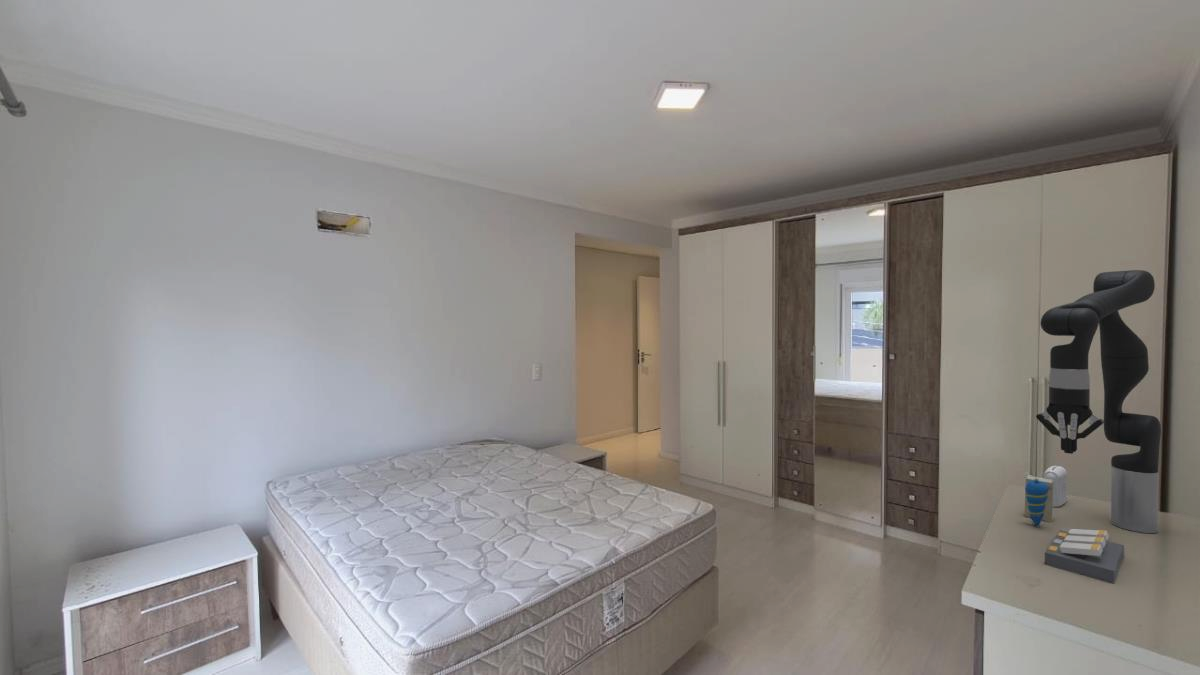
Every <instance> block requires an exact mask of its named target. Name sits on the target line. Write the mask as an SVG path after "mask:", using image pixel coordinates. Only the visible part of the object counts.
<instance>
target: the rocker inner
mask: <svg viewBox="0 0 1200 675" xmlns="http://www.w3.org/2000/svg"><path fill="white" fill-rule="evenodd" d="M1068 532H1069V533H1068V534H1069V535H1070V536H1086V537H1103V538H1104V539H1105V541H1108V539H1109V538H1110V535H1109V533H1108V530H1105V529H1099V530H1098V529H1097V530H1096V529H1083V528H1082V529H1081V528H1079V529H1077V528H1070V529H1069V531H1068Z"/></svg>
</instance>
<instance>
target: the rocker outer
mask: <svg viewBox="0 0 1200 675" xmlns="http://www.w3.org/2000/svg"><path fill="white" fill-rule="evenodd" d="M1060 550H1061V553H1070V554H1082V555H1095V556H1101V554H1102V551H1103V550H1102V547H1101V545H1099V544H1082V543H1068V542H1062V544H1061V545H1060Z"/></svg>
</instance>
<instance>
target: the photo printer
mask: <svg viewBox="0 0 1200 675" xmlns="http://www.w3.org/2000/svg"><path fill="white" fill-rule="evenodd" d="M1043 478H1045V479H1051V480H1053V508H1059V507H1062V506H1063V505H1064V504H1066V503H1067V501H1068V473H1067V470H1066V468H1064V466H1061V465H1060V466H1059V465H1052V466H1049V467H1048V468H1047V469H1046V470H1045V471H1044V474H1043ZM1066 496H1067V497H1066Z"/></svg>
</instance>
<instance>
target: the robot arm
mask: <svg viewBox="0 0 1200 675" xmlns="http://www.w3.org/2000/svg"><path fill="white" fill-rule="evenodd" d="M1155 284H1156V283H1155V278H1154V276H1153V275H1152V273H1150V272H1149V271H1147V270H1142V269H1130V270H1119V271H1117V270H1116V271H1105V272H1104V271H1103V272H1100V273H1098V274H1097V275H1096V276H1095V278H1094V280H1093V285H1092V286H1093V290H1092V291H1093V292H1091V293H1088V294H1086V295H1084V296H1081V297H1080V298H1078V299H1077V300H1074V301H1073V302H1069V303H1066V304H1061V305H1058V306H1055V307H1052V308H1050V309H1048V310H1046V312H1044V314H1043V315H1042V317H1041V318H1040V327H1041V329H1042V331H1043V332H1044V333H1046V334H1048V335H1051V336H1054V337H1055V336H1056V337H1057V336H1059V337H1060V336H1061V337H1064V336H1065V337H1066V336H1067V337H1074V338H1073V340H1072V341H1071V342H1070V343H1067V344H1058V345H1055V346H1053V347H1051V349H1050V356H1049V358H1050V360H1049V363H1050V364H1049V365H1050V366H1049V367H1050V368H1049V374H1048V383H1047V384H1048V405H1047V407H1046V408H1045V411H1043V412H1041V413H1038V414H1036V416H1035V419H1036V420H1038V421H1039V422H1040V423H1041V424H1042V425H1043V426H1044V428H1046V429H1047V431H1048V432H1049V433H1050V434H1051V435H1052V436H1053V435H1054V436H1056V437H1059V438H1060V449H1061V451H1063V452H1064V453H1065V454H1070V455H1072V454H1074V453H1075V452H1076V451H1077V450H1078V439H1085V438H1087V437H1088V436H1089V435H1091V434H1092V433H1093V432H1094V431H1095V430H1097V429H1098V428H1099V427H1101V426H1102V425H1103V431H1104V432H1103V433H1104V436H1105V439H1107V441H1109V442H1111V443H1115V444H1121V445H1128V446H1134V447H1139V450H1138V451H1137V452H1133V453H1127V454H1126V453H1125V454H1116V455H1115V454H1114V455H1113V456H1112V457H1111V459H1110V461H1111V462H1110V464H1111V466H1110V467H1111V468H1110V470H1111V472H1110V473H1111V474H1110V476H1111V478H1110V479H1111V480H1110V482H1111V484H1110V486H1111V487H1110V490H1111V491H1110V523H1111V524H1112V525H1113V526H1116V527H1117V528H1121V529H1124V530H1128V531H1131V532H1137V533H1145V534H1157V533H1159V464H1160V444H1161V436H1162V435H1161V434H1162V428H1161V426H1162V425H1161V422H1160V420H1159V419H1158V418H1157V417H1156V416H1154V415H1148V414H1140V413H1133V412H1131V413H1130V412H1123V404H1124V401H1125V400H1126V398H1127V396H1128V395H1129V394H1130V393H1131V392H1132V391H1133V390H1134V389H1135V388H1136V387H1137V386H1138V384H1140V383H1141V382H1142V381H1143V380H1144V378H1145V377H1146V376H1147V375H1148V373H1149V370H1150V367H1149V366H1150V365H1149V351H1148V346H1147V345H1146V344H1145V343H1144V341H1143V340H1142V339H1141V338H1140V337H1139V336H1138V335H1137V334H1136V333H1135V332H1134V331H1133V330H1132V329H1131V328H1130V327H1129V326H1128V325H1127V324H1126V323H1125V321H1124V320H1123V319H1122V317H1121V315H1120V313H1119V311H1120V310H1122V309H1125V308H1129V307H1131V306H1134V305H1137V304H1141V303H1144V302H1146V301H1148V300H1149V299H1150V298H1151V297H1152V296H1153V294H1154V292H1155V288H1156V286H1155ZM1098 328H1099V335H1100V336H1099V339H1100V340H1099V341H1100V342H1099V344H1100V363H1101V371H1102V381H1103V393H1104V394H1103V399H1104V401H1103V419H1102V418H1098V417H1096V416H1095V415H1093V413H1094V412H1093V411H1092V410H1091V407H1090V403H1091V401H1090V400H1091V399H1090V396H1091V394H1090V390H1091V387H1090V382H1091V378H1090V373H1089V352H1090V349H1091V347H1092V346H1091V345H1092V342H1093V340H1094V337H1095V335H1096V332H1097V330H1098ZM1050 417H1051V418H1052V420H1053V421H1054V422H1055V423H1056V424H1058V428H1057V427H1056V426H1055V425H1054V424H1053V422H1052V421H1050ZM1088 419H1089V421H1088ZM1087 421H1088V425H1089V426H1088V427H1086V428H1085V429H1084V430H1083V431H1081V432H1079V428H1080V426H1081V425H1083V424H1085V422H1087ZM1068 427H1069V428H1068Z"/></svg>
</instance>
